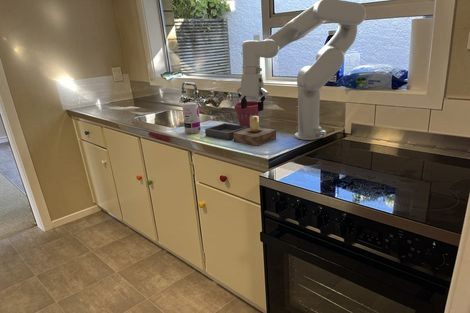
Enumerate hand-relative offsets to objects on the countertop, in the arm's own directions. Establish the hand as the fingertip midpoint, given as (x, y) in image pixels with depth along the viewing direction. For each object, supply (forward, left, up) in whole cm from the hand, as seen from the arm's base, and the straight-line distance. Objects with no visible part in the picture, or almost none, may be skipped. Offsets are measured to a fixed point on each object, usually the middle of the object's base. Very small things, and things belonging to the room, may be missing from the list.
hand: (252, 109), depth 156 cm
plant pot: (+17, -17, -14) cm, 29 cm away
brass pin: (-1, 0, -14) cm, 14 cm away
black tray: (+18, 0, -14) cm, 23 cm away
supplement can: (+37, +5, -14) cm, 40 cm away
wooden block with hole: (-1, 0, -14) cm, 14 cm away
